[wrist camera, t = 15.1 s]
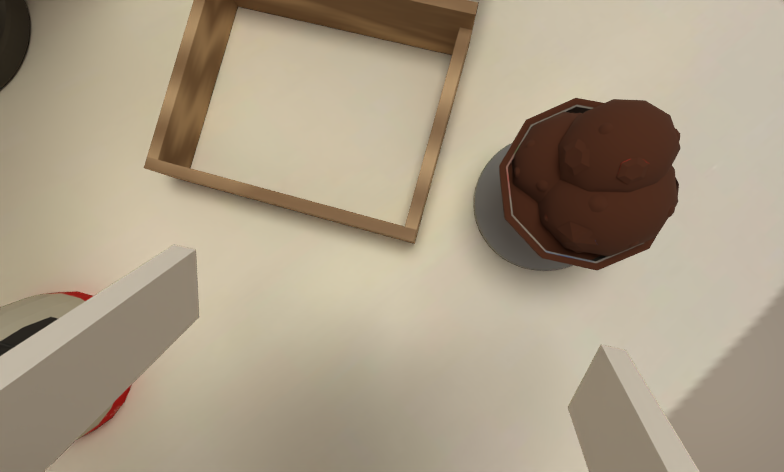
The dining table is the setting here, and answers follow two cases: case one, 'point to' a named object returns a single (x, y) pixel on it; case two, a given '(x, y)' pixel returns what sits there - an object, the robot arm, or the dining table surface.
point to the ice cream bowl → (591, 180)
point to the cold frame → (327, 8)
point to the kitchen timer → (41, 307)
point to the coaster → (503, 221)
